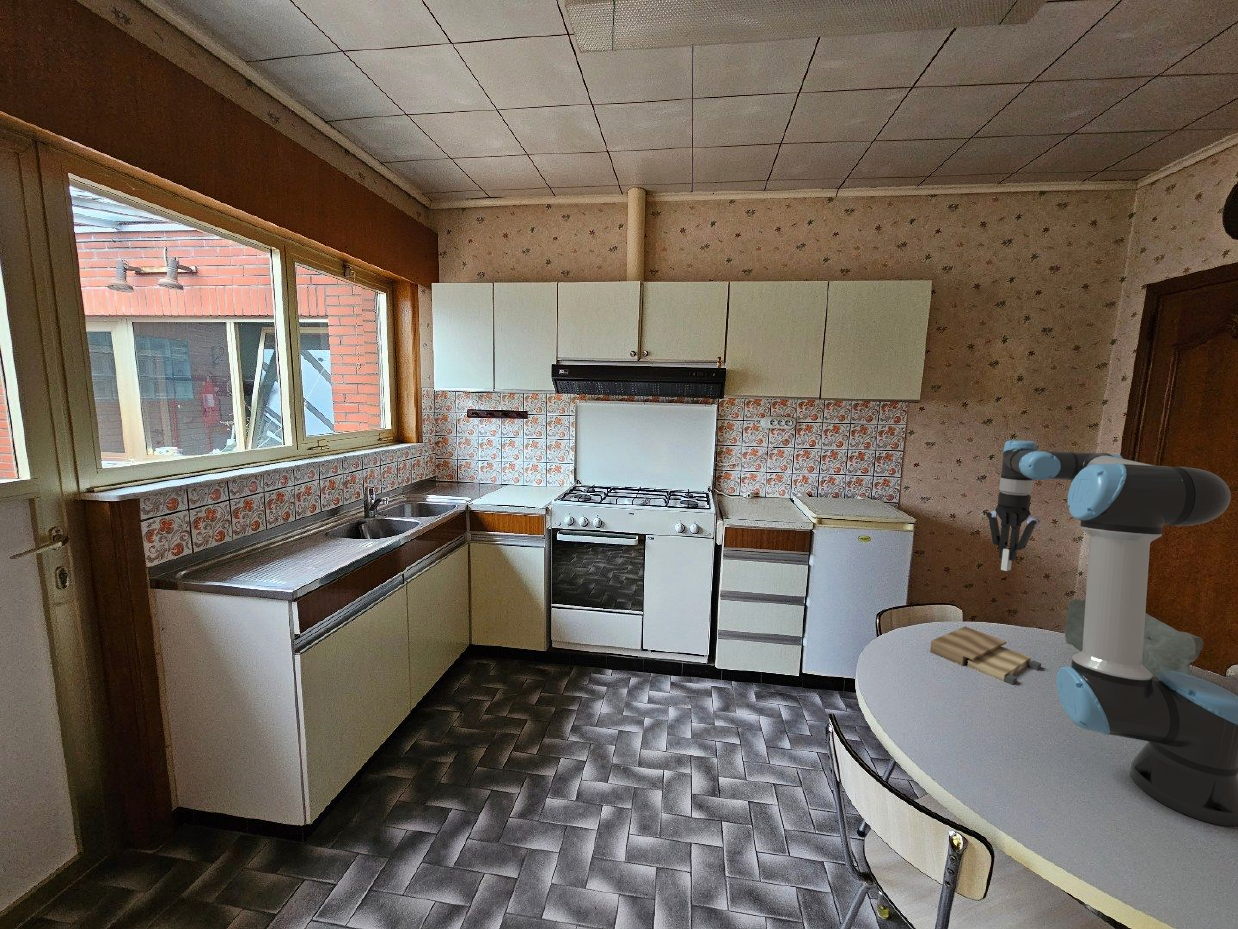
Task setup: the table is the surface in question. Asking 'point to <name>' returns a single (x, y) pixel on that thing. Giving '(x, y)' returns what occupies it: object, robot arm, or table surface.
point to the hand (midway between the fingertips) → (1005, 569)
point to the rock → (1145, 642)
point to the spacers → (1013, 679)
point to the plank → (1000, 662)
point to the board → (964, 645)
